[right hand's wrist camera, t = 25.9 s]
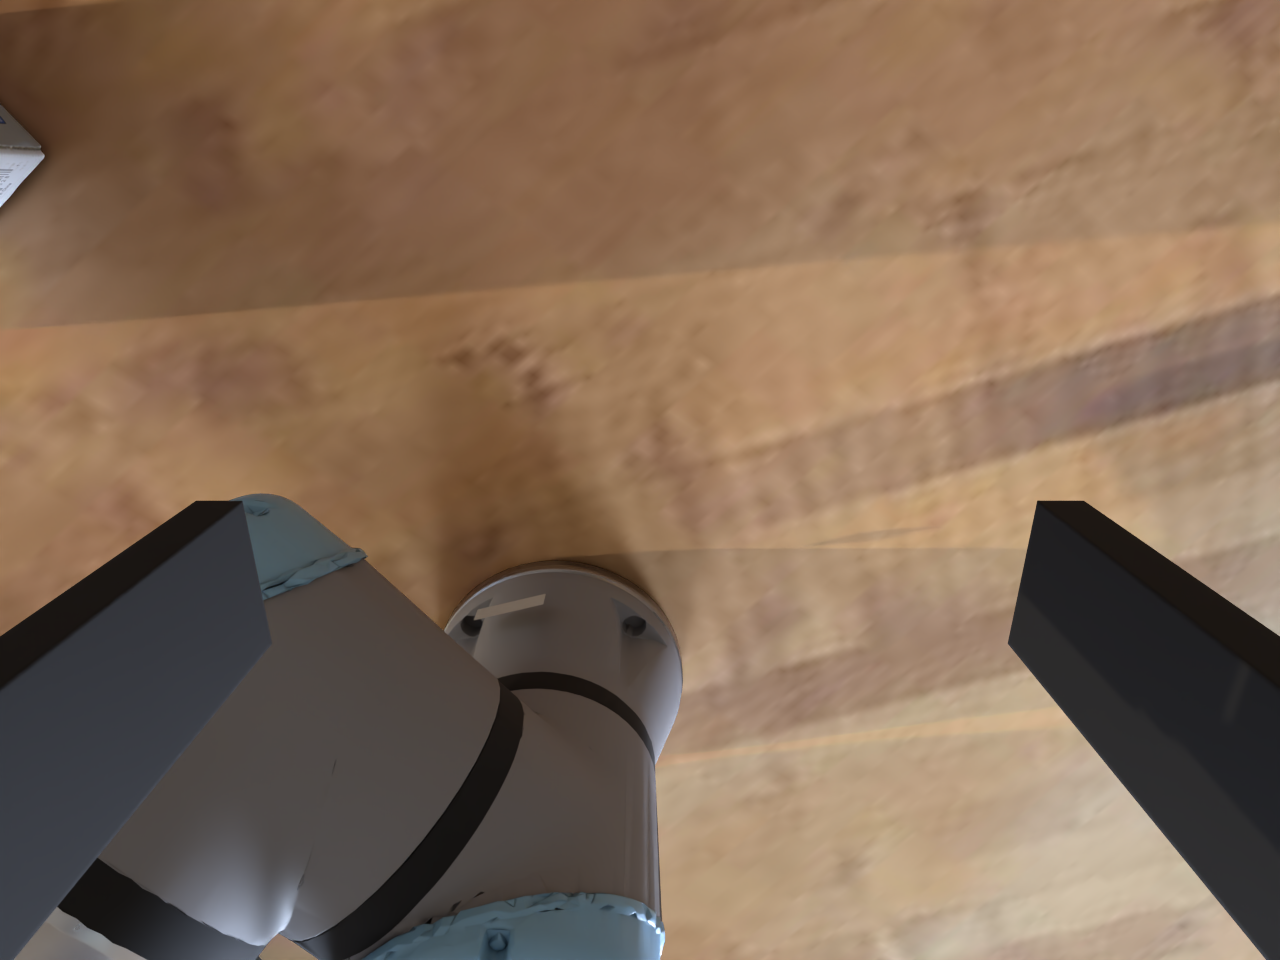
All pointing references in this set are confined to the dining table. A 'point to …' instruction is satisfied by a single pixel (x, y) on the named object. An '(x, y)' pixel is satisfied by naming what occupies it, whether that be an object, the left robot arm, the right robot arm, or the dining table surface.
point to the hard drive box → (15, 154)
